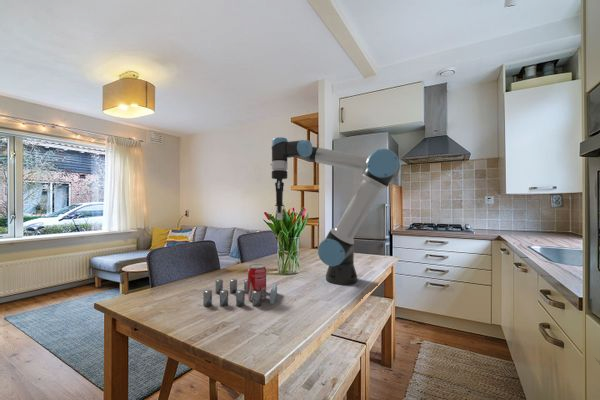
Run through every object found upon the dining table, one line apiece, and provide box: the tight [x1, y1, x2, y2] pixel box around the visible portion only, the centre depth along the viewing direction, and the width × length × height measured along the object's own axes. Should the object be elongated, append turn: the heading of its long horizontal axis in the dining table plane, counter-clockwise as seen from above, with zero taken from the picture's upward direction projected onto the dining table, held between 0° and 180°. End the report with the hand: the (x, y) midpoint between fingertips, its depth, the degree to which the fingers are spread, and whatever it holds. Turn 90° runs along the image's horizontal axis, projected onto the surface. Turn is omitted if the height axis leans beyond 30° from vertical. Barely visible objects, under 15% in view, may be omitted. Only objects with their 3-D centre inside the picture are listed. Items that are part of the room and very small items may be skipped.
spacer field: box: [202, 278, 262, 308], centre depth 106 cm, size 21×17×5 cm
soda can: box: [247, 263, 267, 302], centre depth 105 cm, size 7×7×13 cm
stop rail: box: [269, 283, 278, 305], centre depth 106 cm, size 2×12×4 cm, turn 0°
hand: (279, 219), depth 129 cm, fingers closed
